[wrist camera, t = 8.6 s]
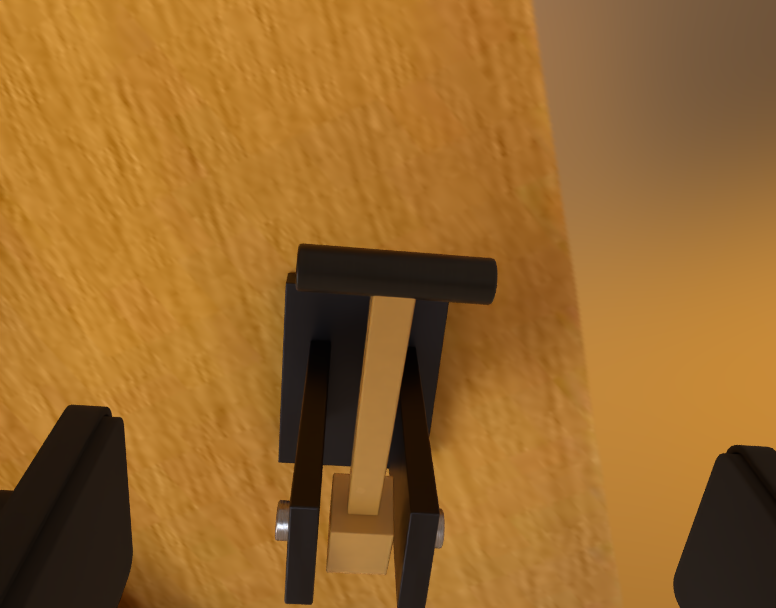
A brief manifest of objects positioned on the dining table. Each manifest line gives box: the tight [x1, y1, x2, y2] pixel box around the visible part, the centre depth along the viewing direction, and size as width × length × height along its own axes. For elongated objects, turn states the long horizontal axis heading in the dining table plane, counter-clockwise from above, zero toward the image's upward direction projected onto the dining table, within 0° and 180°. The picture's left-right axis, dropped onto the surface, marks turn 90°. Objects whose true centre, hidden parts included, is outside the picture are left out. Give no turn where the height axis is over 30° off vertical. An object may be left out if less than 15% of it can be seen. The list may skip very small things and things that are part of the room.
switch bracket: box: [275, 273, 449, 608], centre depth 31 cm, size 10×8×13 cm
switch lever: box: [296, 244, 497, 575], centre depth 23 cm, size 14×5×2 cm, turn 174°
